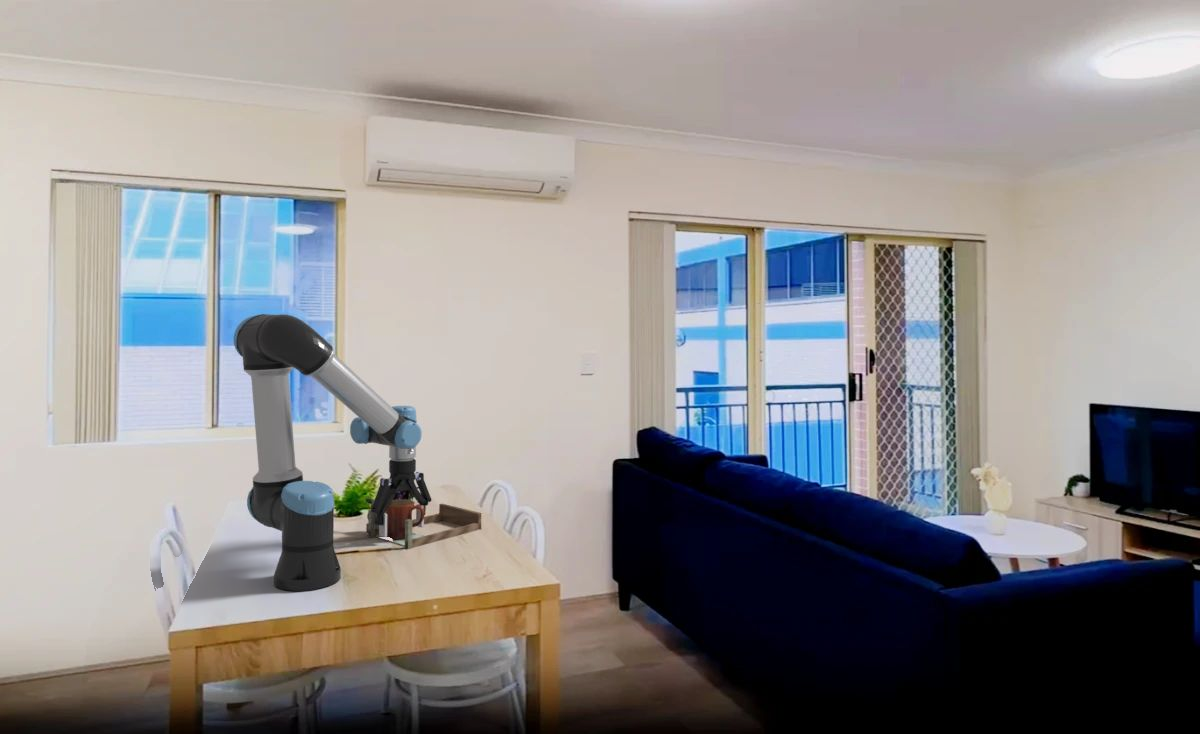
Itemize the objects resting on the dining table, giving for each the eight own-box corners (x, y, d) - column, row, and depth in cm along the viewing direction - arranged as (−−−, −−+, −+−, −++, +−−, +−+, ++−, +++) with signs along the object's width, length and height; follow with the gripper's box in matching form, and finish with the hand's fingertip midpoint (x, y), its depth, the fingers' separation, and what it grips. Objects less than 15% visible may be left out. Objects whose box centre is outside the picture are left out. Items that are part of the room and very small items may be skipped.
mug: (378, 540, 210) (378, 505, 210) (390, 532, 219) (390, 498, 219) (418, 542, 209) (418, 507, 209) (428, 534, 218) (429, 500, 217)
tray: (408, 549, 204) (408, 514, 204) (355, 532, 219) (356, 500, 219) (481, 528, 226) (481, 497, 226) (429, 515, 241) (429, 485, 241)
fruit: (383, 510, 259) (424, 496, 265) (386, 512, 250) (428, 498, 256) (375, 482, 260) (416, 469, 265) (378, 483, 250) (420, 470, 256)
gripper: (374, 466, 200) (373, 542, 201) (443, 455, 220) (442, 525, 221) (358, 462, 205) (357, 537, 206) (427, 452, 224) (426, 520, 226)
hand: (401, 531), depth 213 cm, fingers open, 12 cm apart
